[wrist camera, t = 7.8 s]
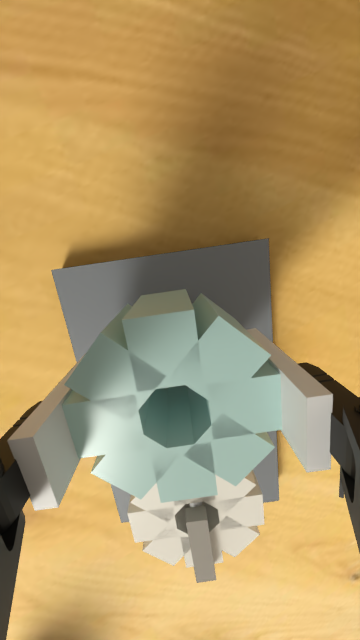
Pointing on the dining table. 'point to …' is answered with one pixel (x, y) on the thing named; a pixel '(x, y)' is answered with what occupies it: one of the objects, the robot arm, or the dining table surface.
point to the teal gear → (173, 399)
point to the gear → (199, 525)
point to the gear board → (163, 276)
